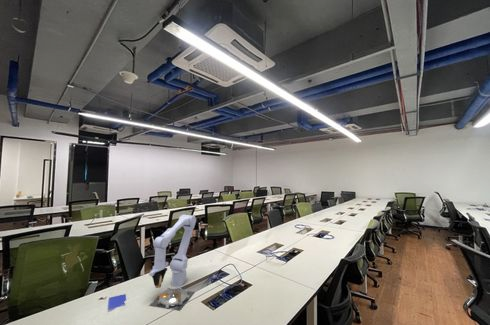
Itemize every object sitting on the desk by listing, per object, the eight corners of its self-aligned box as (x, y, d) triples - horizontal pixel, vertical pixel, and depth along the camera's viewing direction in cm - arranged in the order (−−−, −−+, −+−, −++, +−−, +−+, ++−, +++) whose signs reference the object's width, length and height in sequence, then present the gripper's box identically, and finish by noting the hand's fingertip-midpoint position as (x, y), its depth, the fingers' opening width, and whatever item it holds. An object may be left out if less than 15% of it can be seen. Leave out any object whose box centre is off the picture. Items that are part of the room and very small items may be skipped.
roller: (157, 284, 115) (158, 273, 116) (162, 285, 114) (163, 274, 115) (153, 287, 112) (154, 276, 112) (159, 288, 111) (159, 276, 112)
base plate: (167, 289, 122) (168, 288, 123) (195, 293, 119) (195, 292, 119) (148, 307, 105) (148, 305, 105) (179, 312, 101) (180, 310, 101)
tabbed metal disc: (151, 297, 112) (152, 287, 113) (181, 286, 124) (181, 277, 125) (164, 312, 100) (164, 301, 100) (195, 298, 112) (196, 288, 112)
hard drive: (126, 305, 105) (125, 293, 116) (107, 309, 101) (108, 297, 111) (126, 308, 105) (125, 296, 115) (107, 313, 101) (108, 300, 111)
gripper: (161, 253, 122) (160, 277, 121) (145, 263, 108) (143, 289, 107) (171, 254, 121) (170, 278, 120) (156, 264, 107) (155, 291, 106)
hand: (158, 283), depth 113 cm, fingers closed on roller, 3 cm apart
